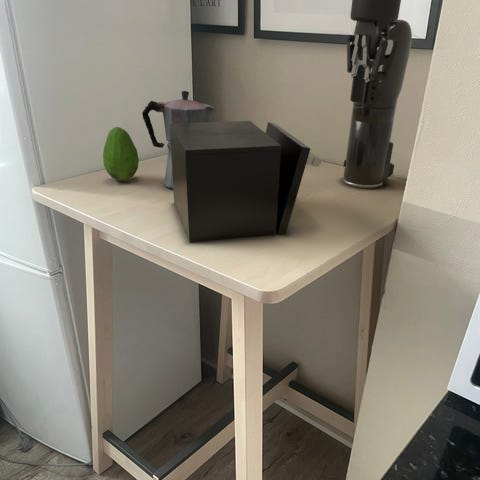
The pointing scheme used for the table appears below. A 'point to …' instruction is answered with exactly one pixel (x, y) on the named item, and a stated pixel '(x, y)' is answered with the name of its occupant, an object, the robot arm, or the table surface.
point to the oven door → (289, 172)
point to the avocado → (120, 155)
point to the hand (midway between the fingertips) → (362, 103)
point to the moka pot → (175, 122)
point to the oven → (225, 180)
